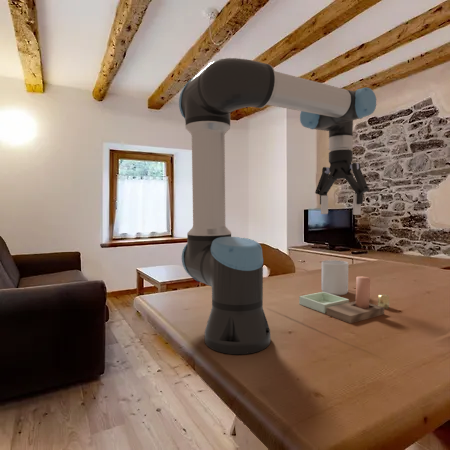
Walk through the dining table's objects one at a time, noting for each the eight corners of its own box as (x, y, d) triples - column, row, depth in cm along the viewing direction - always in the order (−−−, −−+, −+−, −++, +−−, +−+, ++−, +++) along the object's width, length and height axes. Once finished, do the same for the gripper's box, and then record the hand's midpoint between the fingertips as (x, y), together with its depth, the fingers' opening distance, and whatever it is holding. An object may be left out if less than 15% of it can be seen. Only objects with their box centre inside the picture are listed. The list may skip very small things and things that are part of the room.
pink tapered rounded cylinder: (363, 315, 89) (364, 279, 89) (352, 311, 92) (353, 276, 92) (371, 313, 91) (373, 278, 91) (360, 310, 94) (361, 276, 94)
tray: (324, 315, 91) (324, 304, 91) (299, 305, 100) (299, 296, 100) (348, 309, 96) (349, 299, 96) (322, 300, 105) (323, 291, 105)
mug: (342, 298, 108) (343, 265, 107) (317, 294, 113) (317, 262, 113) (354, 291, 117) (354, 260, 116) (330, 287, 122) (330, 258, 122)
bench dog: (384, 310, 94) (385, 297, 94) (375, 308, 97) (375, 295, 97) (391, 309, 96) (391, 296, 96) (381, 306, 99) (382, 293, 98)
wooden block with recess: (350, 327, 83) (350, 316, 83) (326, 318, 90) (326, 307, 90) (384, 317, 90) (384, 307, 90) (359, 310, 97) (359, 300, 97)
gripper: (381, 145, 99) (380, 214, 100) (320, 156, 120) (320, 213, 121) (365, 143, 95) (364, 215, 96) (305, 155, 117) (305, 213, 118)
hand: (339, 214), depth 109 cm, fingers open, 13 cm apart
